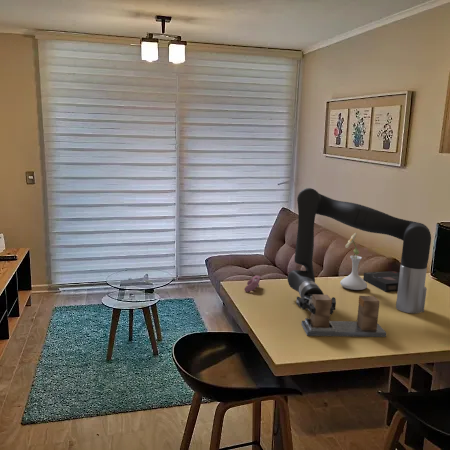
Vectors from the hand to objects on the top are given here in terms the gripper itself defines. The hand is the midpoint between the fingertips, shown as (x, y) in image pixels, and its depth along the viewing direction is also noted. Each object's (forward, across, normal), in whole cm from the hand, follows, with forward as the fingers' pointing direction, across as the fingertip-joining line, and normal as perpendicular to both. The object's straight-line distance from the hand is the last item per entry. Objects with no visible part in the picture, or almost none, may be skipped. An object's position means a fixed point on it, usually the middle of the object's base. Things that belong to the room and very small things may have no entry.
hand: (322, 311), depth 151 cm
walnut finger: (-3, 0, +6) cm, 7 cm away
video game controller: (-44, -18, +8) cm, 48 cm away
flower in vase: (-48, +26, +8) cm, 55 cm away
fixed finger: (-3, +16, +6) cm, 17 cm away
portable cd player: (-54, +45, +9) cm, 70 cm away
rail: (-3, +8, +8) cm, 11 cm away
